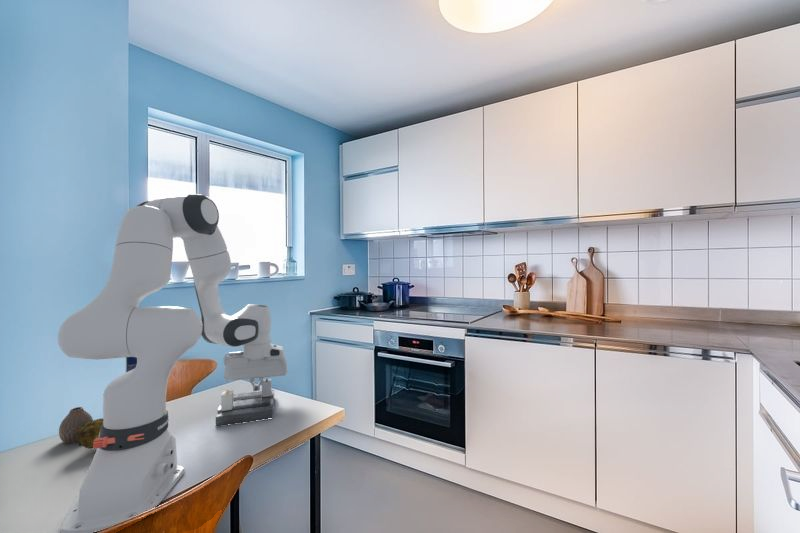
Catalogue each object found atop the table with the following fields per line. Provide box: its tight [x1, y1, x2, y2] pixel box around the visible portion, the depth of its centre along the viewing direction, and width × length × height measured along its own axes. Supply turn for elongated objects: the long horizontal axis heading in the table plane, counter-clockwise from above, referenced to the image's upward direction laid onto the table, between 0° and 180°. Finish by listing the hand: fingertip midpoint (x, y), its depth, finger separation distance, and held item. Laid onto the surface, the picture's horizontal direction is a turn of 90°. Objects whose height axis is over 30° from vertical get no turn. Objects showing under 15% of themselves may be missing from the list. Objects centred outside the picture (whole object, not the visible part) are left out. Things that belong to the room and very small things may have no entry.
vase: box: [58, 406, 94, 445], centre depth 93 cm, size 7×7×9 cm
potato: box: [77, 418, 103, 450], centre depth 90 cm, size 8×13×8 cm, turn 141°
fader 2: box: [261, 378, 272, 397], centre depth 118 cm, size 3×3×5 cm
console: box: [215, 389, 275, 427], centre depth 112 cm, size 18×16×4 cm
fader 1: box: [220, 389, 234, 411], centre depth 107 cm, size 3×3×5 cm
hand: (256, 390), depth 117 cm, fingers closed
